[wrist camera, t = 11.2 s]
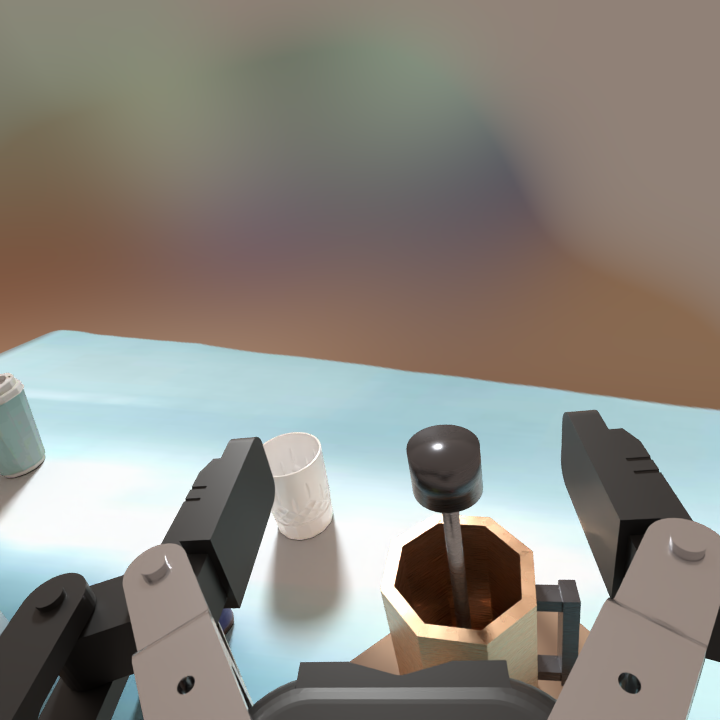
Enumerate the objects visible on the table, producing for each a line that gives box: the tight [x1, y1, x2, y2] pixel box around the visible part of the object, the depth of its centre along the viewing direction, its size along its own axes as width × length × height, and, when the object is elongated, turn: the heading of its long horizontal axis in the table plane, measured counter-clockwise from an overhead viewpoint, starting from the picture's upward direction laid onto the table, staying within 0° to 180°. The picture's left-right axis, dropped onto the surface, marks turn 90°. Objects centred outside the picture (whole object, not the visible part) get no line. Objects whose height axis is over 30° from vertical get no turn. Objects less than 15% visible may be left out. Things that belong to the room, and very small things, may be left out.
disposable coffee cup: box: [0, 373, 45, 478], centre depth 78 cm, size 11×11×15 cm
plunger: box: [406, 425, 483, 629], centre depth 32 cm, size 6×6×23 cm
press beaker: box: [381, 514, 581, 688], centre depth 35 cm, size 11×10×14 cm
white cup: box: [263, 432, 333, 540], centre depth 57 cm, size 8×8×10 cm
